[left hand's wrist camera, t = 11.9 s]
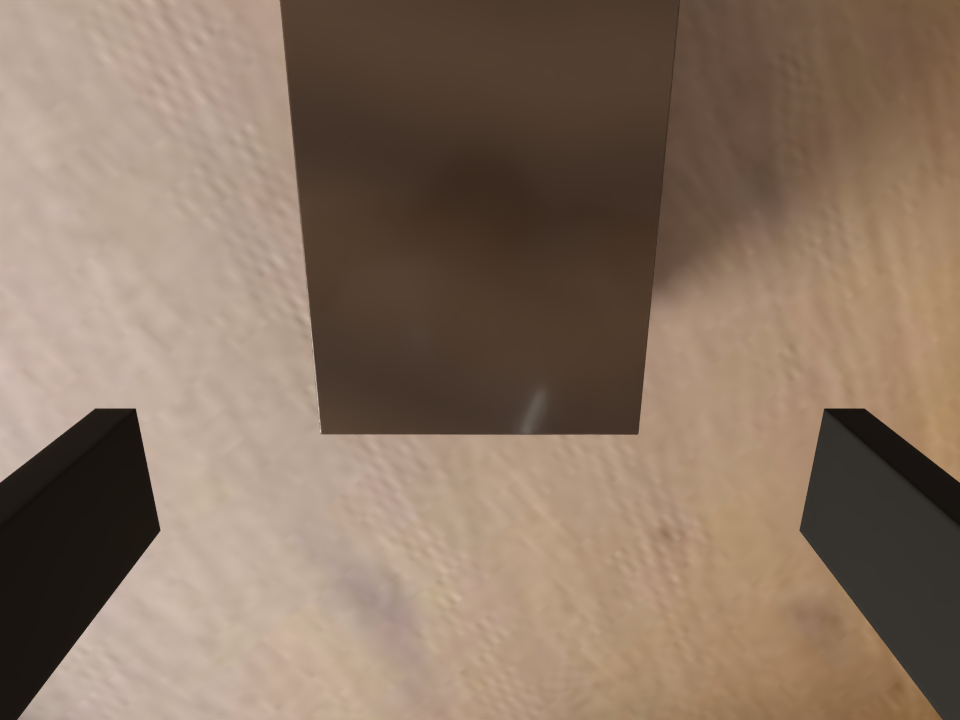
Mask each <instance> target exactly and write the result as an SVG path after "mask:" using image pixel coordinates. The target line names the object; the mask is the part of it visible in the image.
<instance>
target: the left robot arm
mask: <svg viewBox="0 0 960 720" xmlns="http://www.w3.org/2000/svg"><path fill="white" fill-rule="evenodd" d="M159 532H160V526H159V521H158V516H157V511H156V506H155V501H154V496H153V491H152V486H151V482H150V477H149V472H148V467H147V462H146V457H145V452H144V447H143V442H142V437H141V432H140V427H139V422H138V418H137V413H136V409H94V410H93V411H92V412H90V413H89V414H88V415H87V416H85V417H84V418H83V419H81V420H80V421H79V422H78V423H76V424H75V425H74V426H73V427H71V428H70V429H69V430H67V431H66V432H65V433H64V434H62V435H61V436H60V437H58V438H57V439H56V440H55V441H53V442H52V443H51V444H49V445H48V446H47V447H46V448H44V449H43V450H42V451H40V452H39V453H38V454H37V455H35V456H34V457H33V458H31V459H30V460H29V461H28V462H26V463H25V464H24V465H22V466H21V467H20V468H19V469H17V470H16V471H15V472H13V473H12V474H11V475H10V476H8V477H7V478H6V479H5V480H3V481H2V482H1V483H0V720H17V719H18V718H19V717H20V715H21V714H22V713H23V711H24V710H25V709H26V707H27V706H28V705H29V703H30V702H31V701H32V699H33V698H34V697H35V696H36V694H37V693H38V692H39V690H40V689H41V688H42V686H43V685H44V684H45V682H46V681H47V680H48V678H49V677H50V676H51V674H52V673H53V672H54V670H55V669H56V668H57V666H58V665H59V664H60V663H61V661H62V660H63V659H64V657H65V656H66V655H67V653H68V652H69V651H70V649H71V648H72V647H73V645H74V644H75V643H76V641H77V640H78V639H79V637H80V636H81V635H82V633H83V632H84V631H85V630H86V628H87V627H88V626H89V624H90V623H91V622H92V620H93V619H94V618H95V616H96V615H97V614H98V612H99V611H100V610H101V608H102V607H103V606H104V604H105V603H106V602H107V600H108V599H109V598H110V597H111V595H112V594H113V593H114V591H115V590H116V589H117V587H118V586H119V585H120V583H121V582H122V581H123V579H124V578H125V577H126V575H127V574H128V573H129V571H130V570H131V569H132V568H133V566H134V565H135V564H136V562H137V561H138V560H139V558H140V557H141V556H142V554H143V553H144V552H145V550H146V549H147V548H148V546H149V545H150V544H151V542H152V541H153V540H154V538H155V537H156V536H157V535H158V533H159ZM800 532H801V533H802V535H803V536H804V537H805V538H806V540H807V541H808V542H809V544H810V545H811V546H812V548H813V549H814V550H815V552H816V553H817V554H818V556H819V557H820V558H821V560H822V561H823V562H824V564H825V565H826V566H827V568H828V569H829V570H830V571H831V573H832V574H833V575H834V577H835V578H836V579H837V581H838V582H839V583H840V585H841V586H842V587H843V589H844V590H845V591H846V593H847V594H848V595H849V597H850V598H851V599H852V600H853V602H854V603H855V604H856V606H857V607H858V608H859V610H860V611H861V612H862V614H863V615H864V616H865V618H866V619H867V620H868V622H869V623H870V624H871V626H872V627H873V628H874V630H875V631H876V632H877V633H878V635H879V636H880V637H881V639H882V640H883V641H884V643H885V644H886V645H887V647H888V648H889V649H890V651H891V652H892V653H893V655H894V656H895V657H896V659H897V660H898V661H899V663H900V664H901V665H902V666H903V668H904V669H905V670H906V672H907V673H908V674H909V676H910V677H911V678H912V680H913V681H914V682H915V684H916V685H917V686H918V688H919V689H920V690H921V692H922V693H923V694H924V696H925V697H926V698H927V699H928V701H929V702H930V703H931V705H932V706H933V707H934V709H935V710H936V711H937V713H938V714H939V715H940V717H941V718H942V719H943V720H960V483H959V482H958V481H957V480H955V479H954V478H953V477H952V476H950V475H949V474H948V473H947V472H945V471H944V470H943V469H941V468H940V467H939V466H938V465H936V464H935V463H934V462H932V461H931V460H930V459H929V458H927V457H926V456H925V455H923V454H922V453H921V452H920V451H918V450H917V449H916V448H914V447H913V446H912V445H911V444H909V443H908V442H907V441H905V440H904V439H903V438H902V437H900V436H899V435H898V434H896V433H895V432H894V431H893V430H891V429H890V428H889V427H887V426H886V425H885V424H884V423H882V422H881V421H880V420H879V419H877V418H876V417H875V416H873V415H872V414H871V413H870V412H868V411H867V410H866V409H824V413H823V418H822V422H821V427H820V432H819V437H818V442H817V447H816V452H815V457H814V462H813V467H812V472H811V477H810V482H809V486H808V491H807V496H806V501H805V506H804V511H803V516H802V521H801V526H800Z"/></svg>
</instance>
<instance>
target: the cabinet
mask: <svg viewBox="0 0 960 720" xmlns="http://www.w3.org/2000/svg"><path fill="white" fill-rule="evenodd" d="M679 4H680V0H280V7H281V18H282V28H283V39H284V50H285V60H286V71H287V82H288V92H289V103H290V114H291V124H292V135H293V146H294V157H295V167H296V178H297V189H298V199H299V210H300V221H301V231H302V242H303V253H304V263H305V274H306V285H307V295H308V306H309V317H310V328H311V338H312V349H313V360H314V370H315V381H316V392H317V402H318V413H319V424H320V433H321V434H525V435H637V434H638V432H639V422H640V411H641V401H642V390H643V380H644V369H645V359H646V349H647V338H648V328H649V317H650V307H651V296H652V286H653V276H654V265H655V255H656V244H657V234H658V223H659V213H660V203H661V192H662V182H663V171H664V161H665V150H666V140H667V129H668V119H669V109H670V98H671V88H672V77H673V67H674V56H675V46H676V36H677V25H678V15H679Z"/></svg>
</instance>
